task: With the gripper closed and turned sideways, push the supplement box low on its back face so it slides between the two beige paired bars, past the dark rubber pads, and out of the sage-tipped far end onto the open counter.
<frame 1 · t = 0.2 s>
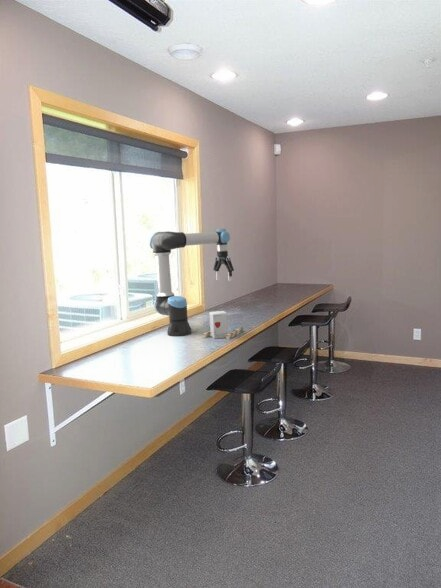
hand: (224, 280, 332), 28 cm above the table, fingers open, 13 cm apart
beige paired bars: (223, 334, 286), on the table
supplement box: (219, 337, 280), on the table
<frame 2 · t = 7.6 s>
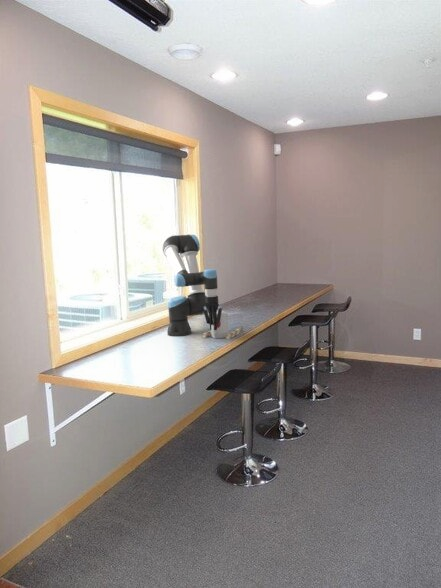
hand: (213, 335, 274), 2 cm above the table, fingers closed
supplement box: (219, 336, 281), on the table, touching gripper
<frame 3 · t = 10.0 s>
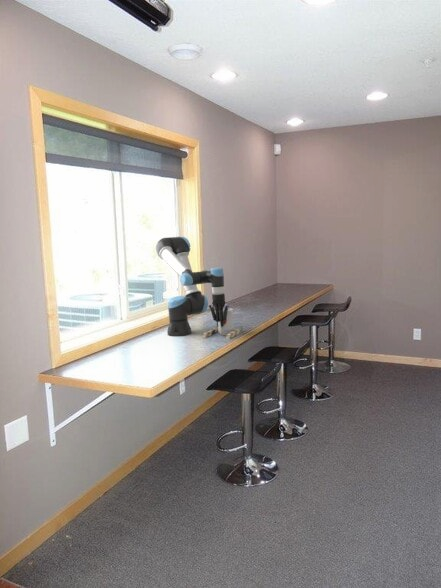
hand: (220, 331, 282), 2 cm above the table, fingers closed
supplement box: (226, 333, 289), on the table, touching gripper
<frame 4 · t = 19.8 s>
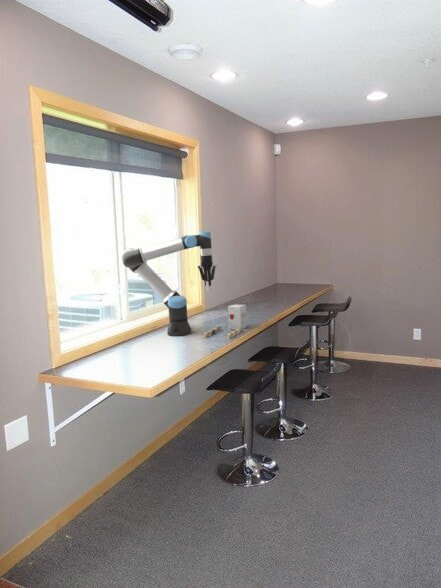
hand: (208, 290, 308), 24 cm above the table, fingers closed
supplement box: (238, 328, 302), on the table
at the end: supplement box inside the target area (1.7 cm from its centre), on the table; supplement box tilted 0° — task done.
